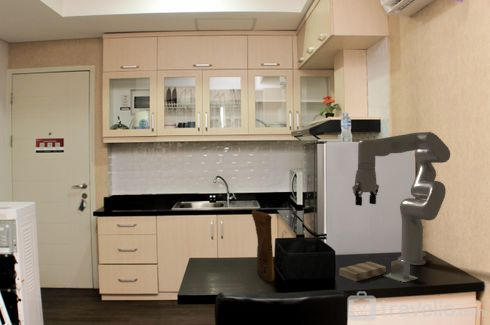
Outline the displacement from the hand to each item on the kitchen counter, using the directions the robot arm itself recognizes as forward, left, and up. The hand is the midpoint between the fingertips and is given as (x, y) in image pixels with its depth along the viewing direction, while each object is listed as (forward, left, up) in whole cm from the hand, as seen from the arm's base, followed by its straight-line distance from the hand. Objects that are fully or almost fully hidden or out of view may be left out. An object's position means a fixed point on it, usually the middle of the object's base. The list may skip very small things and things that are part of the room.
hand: (365, 204), depth 162 cm
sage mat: (-6, +14, -30) cm, 34 cm away
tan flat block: (+5, +3, -30) cm, 31 cm away
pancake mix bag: (+44, -18, -31) cm, 56 cm away
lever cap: (-6, +14, -30) cm, 34 cm away
